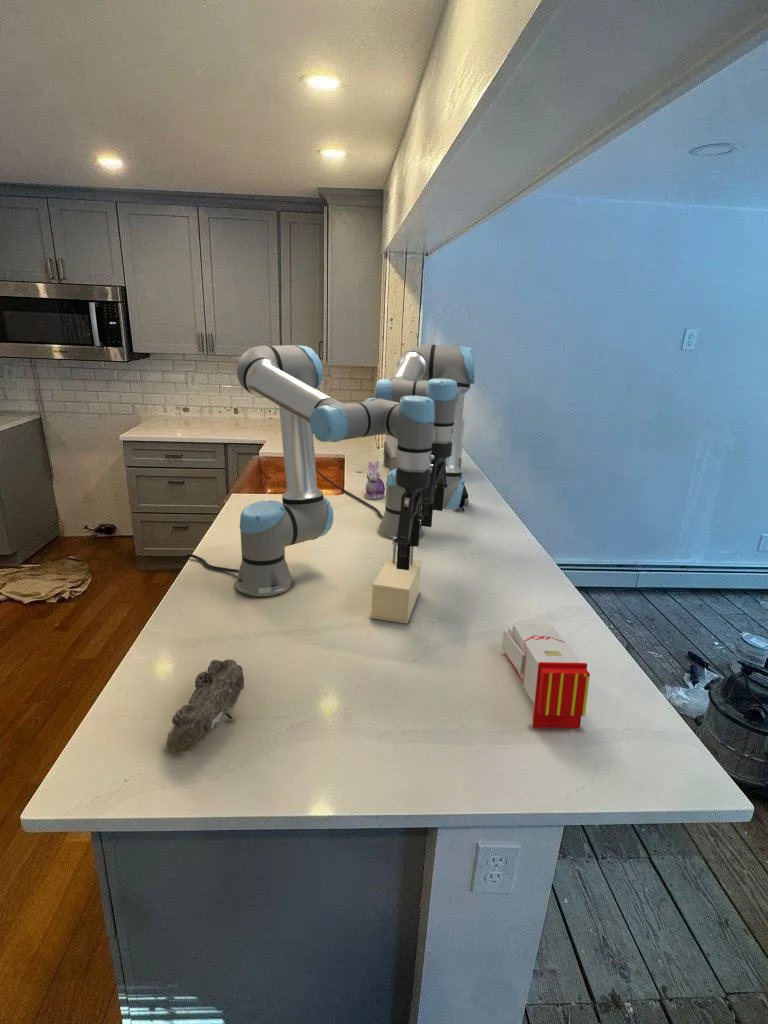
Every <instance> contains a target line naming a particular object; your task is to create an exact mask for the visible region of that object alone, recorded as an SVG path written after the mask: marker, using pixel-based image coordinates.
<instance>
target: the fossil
mask: <svg viewBox="0 0 768 1024" xmlns="http://www.w3.org/2000/svg"><path fill="white" fill-rule="evenodd" d="M243 670H244V669H243V667H242V665H240V664H237V662H236V661H235V660H234V659H232V658H231V659H227V658H226V659H224V660H223V661H222V660H217V659H212V660H211V661H210V663H209V665H208V666H207V671H201V672H199V673H198V674H197V675H196V676H195V680H194V684H195V685H194V687H195V689H194V690H193V693H192V694H191V697H190V698H189V700H188V704H184V705H182V706H181V707H180V709H177V710H176V711H175V713H174V715H173V716H172V718H171V723H172V724H173V727H172V730H171V731H170V732H168V734H167V738H166V741H167V742H166V745H167V749H168V750H169V751H173V752H174V753H176V754H178V753H182V752H188V751H189V752H192V751H193V750H195V748H196V747H197V746H199V744H200V743H201V742H203V741H204V740H205V739H206V738H207V737H208V736H209V735H210V734H211V733H212V732H214V730H215V729H217V727H218V726H219V724H220V722H221V721H222V720H223V719H224V718H225V716H226V717H227V719H229V720H233V717H232V715H230V714H229V710H230V709H231V708H234V706H235V704H236V703H237V702H238V699H239V697H240V695H241V693H242V691H243V690H245V689H244V688H245V675H244V671H243Z"/></svg>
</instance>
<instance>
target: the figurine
mask: <svg viewBox="0 0 768 1024" xmlns="http://www.w3.org/2000/svg"><path fill="white" fill-rule="evenodd" d="M367 465H368V471H367V473H366V478H367V482H366V484H365V491H366V492H365V496H364V497H366V499H368V500H377V499H378V500H379V499H382V498H384V497H385V493H386V485H385V483H384V481H383V480H382V479H381V473H380V471H379V466H380V461H379V460H377V461H376V462H375V463H374V464H373V462H372V461H368V464H367Z"/></svg>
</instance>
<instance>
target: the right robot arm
mask: <svg viewBox="0 0 768 1024" xmlns="http://www.w3.org/2000/svg"><path fill="white" fill-rule="evenodd" d="M474 352H475V351H474V349H473V348H472V347H470V346H464V345H451V344H450V345H449V344H447V345H446V344H432V343H431V344H430V343H429V344H421V345H417V346H414V347H411V348H410V349H408V350H407V351H405V352H404V353H402V354H401V356H400V357H399V358H398V360H397V362H396V369H395V370H394V372H393V374H392V376H391V377H390V378H384V379H383V378H381V379H378V380H377V381H376V384H375V389H374V398H383V399H384V400H388V401H393V402H397V403H400V399H401V398H402V397H404V396H424V397H429V398H431V399H432V400H433V401H434V413H435V421H434V428H433V439H432V450H431V451H432V453H431V455H434V459H431V467H430V468H429V470H430V484H429V486H428V487H427V488H425V489H422V514H421V515H424V518H423V520H418V521H420V533H419V538H420V537H421V536H422V535H423V527H426V528H432V526H433V515H434V514H433V513H434V512H433V511H435V512H436V511H437V512H443V510H444V511H446V510H451V511H452V510H453V511H456V510H455V509H457V510H458V509H459V508H458V507H459V505H460V501H461V496H462V492H463V488H464V486H465V483H466V477H465V476H463V474H462V473H463V471H462V468H461V469H460V468H459V467H458V460H459V449H460V439H462V438H461V428H462V419H463V416H464V415H463V414H464V404H465V396H466V393H468V391H470V388H471V385H473V384H475V383H476V376H475V353H474ZM396 469H397V468H396ZM396 469H393V470H391V471H390V470H389V472H388V473H387V475H386V482H385V504H384V505H385V507H384V508H385V509H384V513H383V515H382V514H381V512H380V510H379V509H378V508H376V507H375V506H373V505H372V504H370V503H369V502H367V501H365V500H363V499H361V498H360V497H358V496H356V495H354V494H353V493H351V492H349V491H347V490H346V489H344V488H342V487H340V486H339V485H338V484H336V483H334V482H333V481H331V480H330V479H329V478H327V477H326V476H325V475H323V474H322V473H321V472H320V471H319V470H318V469H316V474H318V475H319V476H320V477H321V478H322V479H324V480H326V482H328V483H329V484H331V485H332V486H334V487H335V488H337V489H339V490H340V491H342V492H344V493H345V494H347V495H348V496H350V497H352V498H354V499H355V500H357V501H359V502H360V503H362V504H364V505H366V506H367V507H369V508H371V509H372V510H374V511H375V512H376V513H377V515H378V517H379V518H381V522H379V526H378V533H379V534H380V535H381V536H382V537H385V538H387V539H389V540H393V537H397V532H398V525H399V517H400V509H401V498H402V494H404V491H405V489H404V488H402V487H399V486H397V484H396ZM403 538H405V537H403Z"/></svg>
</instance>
